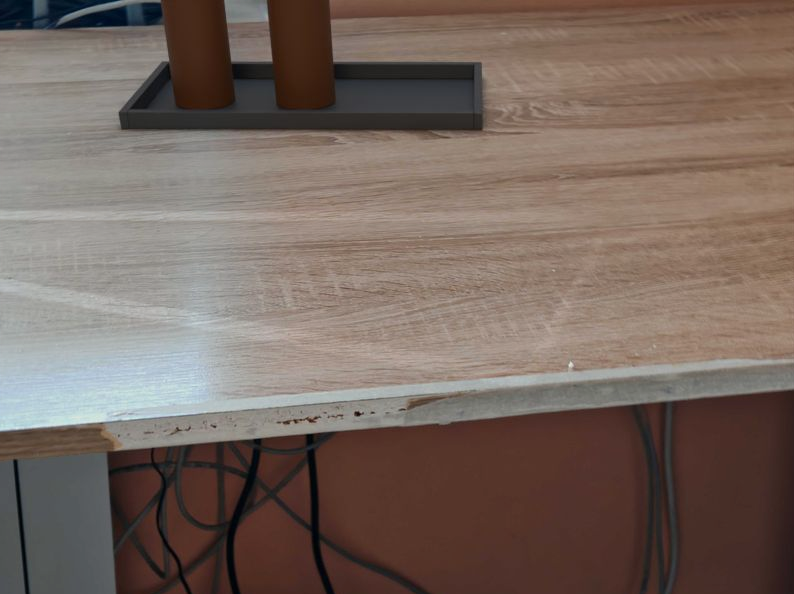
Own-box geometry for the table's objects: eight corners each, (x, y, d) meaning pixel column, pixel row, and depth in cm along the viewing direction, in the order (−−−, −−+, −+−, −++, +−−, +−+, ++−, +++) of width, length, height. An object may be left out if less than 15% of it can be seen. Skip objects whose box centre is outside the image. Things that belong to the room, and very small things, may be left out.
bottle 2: (271, 110, 79) (253, -76, 72) (281, 91, 82) (264, -88, 76) (332, 110, 79) (319, -76, 72) (338, 91, 82) (327, -87, 76)
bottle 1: (168, 110, 79) (141, -76, 72) (182, 91, 82) (158, -88, 76) (229, 110, 79) (207, -76, 72) (240, 91, 82) (220, -88, 76)
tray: (122, 136, 76) (118, 112, 75) (165, 83, 86) (161, 61, 85) (482, 137, 76) (482, 112, 75) (481, 84, 86) (481, 61, 85)
